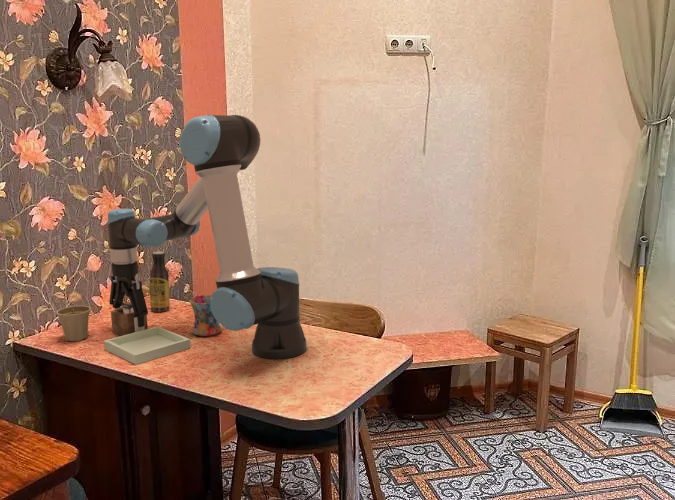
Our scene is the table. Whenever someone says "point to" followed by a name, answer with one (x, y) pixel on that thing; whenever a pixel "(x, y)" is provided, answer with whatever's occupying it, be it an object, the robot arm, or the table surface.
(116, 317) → the collar
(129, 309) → the grey salt shaker
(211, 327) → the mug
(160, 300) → the sauce bottle
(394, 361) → the table surface
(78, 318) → the flower pot
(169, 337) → the tray
